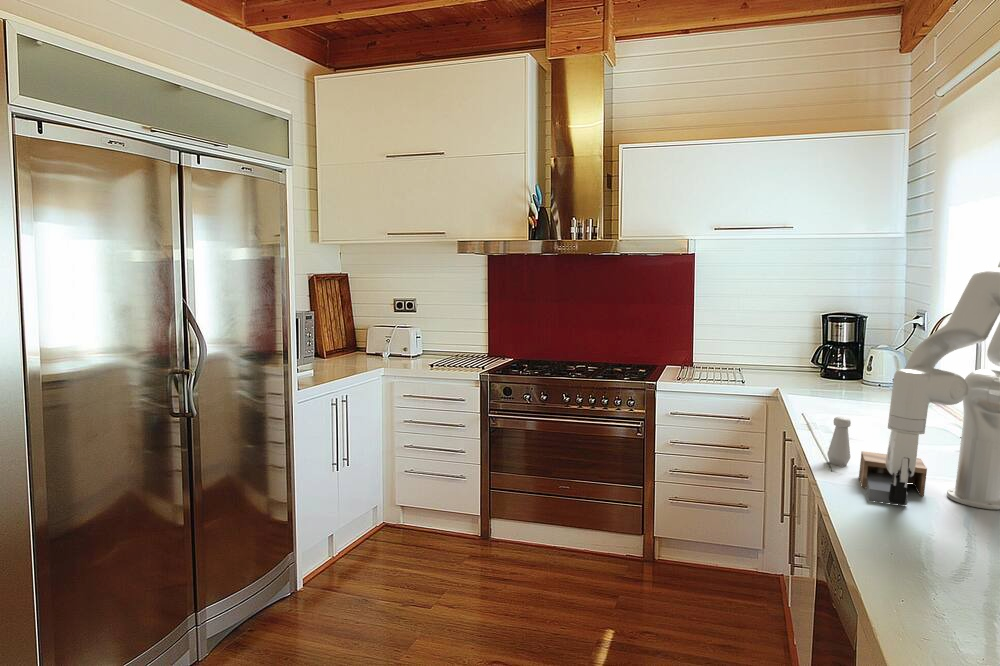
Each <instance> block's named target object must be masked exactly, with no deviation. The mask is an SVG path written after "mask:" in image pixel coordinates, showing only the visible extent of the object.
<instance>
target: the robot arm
mask: <svg viewBox="0 0 1000 666" xmlns="http://www.w3.org/2000/svg"><path fill="white" fill-rule="evenodd" d="M999 315H1000V261H999V262H998V266H997V268H996V267H994V268H993V267H991V268H989V267H987V268H981V269H979V270H977V271H975V273H973V275H972V276H971V278H970V279H969V280H968V283H967V284H966V286H965V289H964V290H963V292H962V294H961V296H960V298H959V300H958V302H957V304H956V306H955V308H954V310H953V312H952V314H951V316H950V318H949V320H948V321H947V323H946V324H944V325H943V326H942V327H940V328H939V329H937V330H935V331H934V332H933V333H932V334H930V335H929V336H928V337H926V338H925V339H924V340H923V341H921V342H920V343H919V344H918V345H917V346H916V347H915V349H914V350H913V351H912V353H911V354H910V357H908V361H907V363H906V365H905V366H904V368H900V369H897V370H896V371H895V372H894V376H893V381H892V390H891V396H890V397H891V398H890V405H889V406H890V407H889V413H888V421H887V429H889V430H890V434H889V439H888V447H887V452H886V454H887V457H886V463H885V464H886V467H887V470H888V471H889V473H890V474H892V483H893V484H891V485H890V493H889V501H890V502H891V503H897V504H905V500H906V493H908V491H907V490H908V484H907V482H908V476H910V477H912V476H913V475H914V471H915V465H916V458H918V456H917V455H918V450H919V449H918V448H919V439H920V435H924V434H925V433H926V426H927V417H928V411H929V410H928V409H929V404H938V405H943V406H952V405H953V406H954V405H957V404H959V403H961V402H962V406H963V417H962V418H963V419H962V431H961V438H960V446H959V454H958V460H957V461H958V462H957V469H956V479H955V487H953V488H950V489H948V490H947V491H946V496H947V497H948V499H950V500H952V501H954V502H956V503H959V504H962V505H964V506H969V507H972V508H973V507H974V508H977V509H984V510H998V511H1000V370H996V369H995V370H994V369H987V368H986V369H985V368H984V369H978V370H977V369H976V370H974V371H972V372H971V373H968V375H966V377H965V378H964V377H962V376H961V375H959V374H958V373H955V372H953V371H947V370H943V369H939V368H935V367H936V366H937V364H938V362H940V361H941V360H942V359H943V358H944V357H946V356H947V355H948V354H949V353H952V352H954V351H957V350H960V349H963V348H967V347H970V346H973V345H976V344H980V343H982V342H984V341H986V340H987V339H988V337H989V335H990V333H991V331H992V329H993V327H994V325H995V323H996V322H997V319H998V317H999ZM986 355H987V358H988V361H989V362H991V363H992V364H994V365H995V366H997V367H1000V321H999V322H998V325H997V327H996V329H995V331H994V333H993V335H992V337H991V340H990V342H989V345H988V347H987V353H986Z"/></svg>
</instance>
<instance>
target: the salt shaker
mask: <svg viewBox="0 0 1000 666" xmlns="http://www.w3.org/2000/svg"><path fill="white" fill-rule="evenodd" d="M851 422H852V421H851V419H850V418H848V417H845V416H836V417H834V418H833V426H835V428H834V432H833V434H832V438H831V441H830V444H829V447H828V450H827V453H826V454H827V459H828V461H829V464H831V465H834V466H836V467H838V466H839V467H845V466H847V465H848V463H849V461H850V460H851V450H850V449H851V447H850V439H849V428H850V427H851V426H852V425H851V424H852V423H851Z"/></svg>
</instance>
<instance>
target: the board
mask: <svg viewBox="0 0 1000 666" xmlns="http://www.w3.org/2000/svg"><path fill="white" fill-rule="evenodd" d="M891 484H893V483H892V475H889V474H882V473H875V472H868V471H867V479H866V488H865V492H867V493H866V497H867V500H868V501H867V502H873V501H875V502H874V503H879V502H883V503H882V504H886V503H890V504H889V505H892V504H897V503H891V502H890V501H889V493H890V485H891ZM908 496H909V494H908V492H907V493H906V500H905V504H898V505H897V506H899V505H908Z"/></svg>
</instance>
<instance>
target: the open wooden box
mask: <svg viewBox="0 0 1000 666" xmlns="http://www.w3.org/2000/svg"><path fill="white" fill-rule="evenodd" d="M886 457H887V453H879V452H871V451H864V450H863V451H862V450H861V453H860V463H859V471H858V472H859V473H858V477H860V479H859V481H861V482H860V486H861V485H862V486H861V488H862V487H863V488H864V489H866V479H867V471H868V472H875V473H882V474H889V475H892V474H890V473H889V471H888V470H887V467H886V464H885V463H886ZM927 471H928V468H927V466H926V465H925V463H924V461H923V459H922V458H919V457H917V458H916V465H915V471H914V475H913V476H912V477H910V476H908V482H907V483H913V484H915V485H916V487H915V488H917V489H916V491H917V490H918V491H919V493H920V494H919V493H918V494H919V496H920V495H923V496H922V497H925V489H926V480H927V473H928V472H927ZM915 485H914V486H915ZM918 491H917V492H918Z"/></svg>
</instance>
